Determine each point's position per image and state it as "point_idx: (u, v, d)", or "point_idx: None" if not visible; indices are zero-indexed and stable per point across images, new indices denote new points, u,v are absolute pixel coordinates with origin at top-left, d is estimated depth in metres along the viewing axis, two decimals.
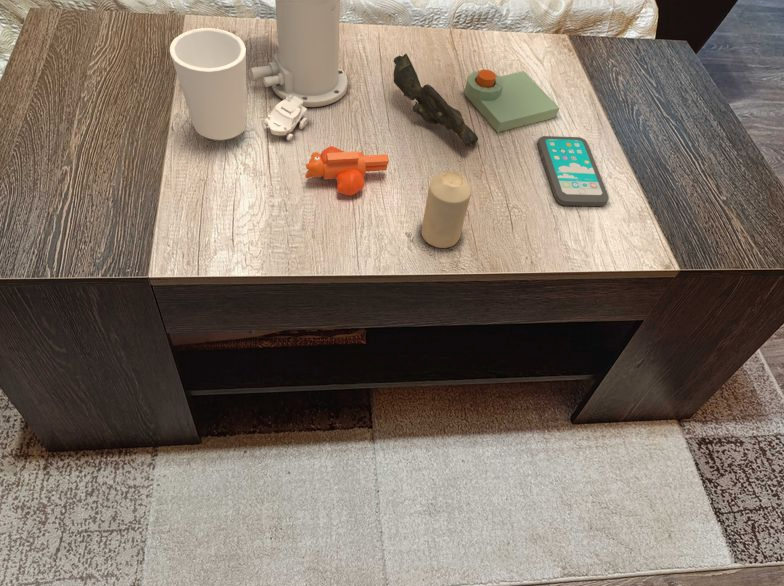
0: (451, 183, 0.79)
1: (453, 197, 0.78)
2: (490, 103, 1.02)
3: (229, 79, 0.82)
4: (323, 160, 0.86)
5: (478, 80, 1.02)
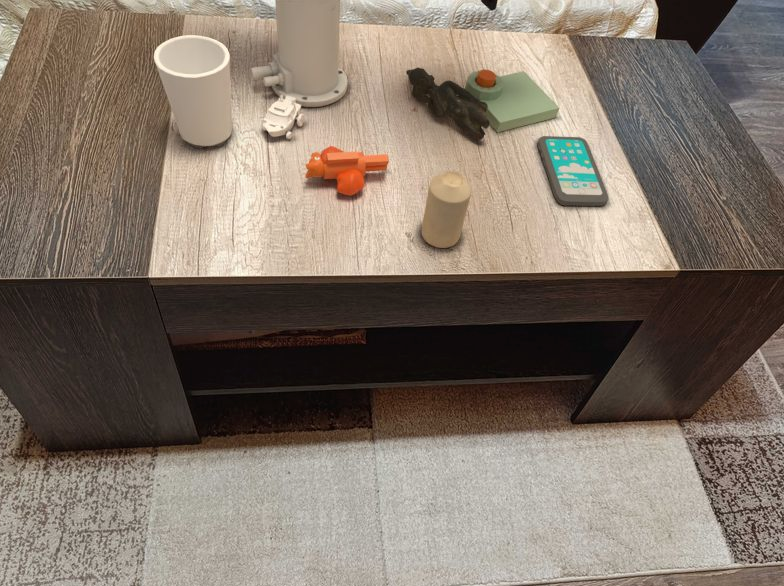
0: (451, 183, 0.79)
1: (453, 197, 0.78)
2: (490, 103, 1.02)
3: (215, 84, 0.83)
4: (323, 160, 0.86)
5: (478, 80, 1.02)
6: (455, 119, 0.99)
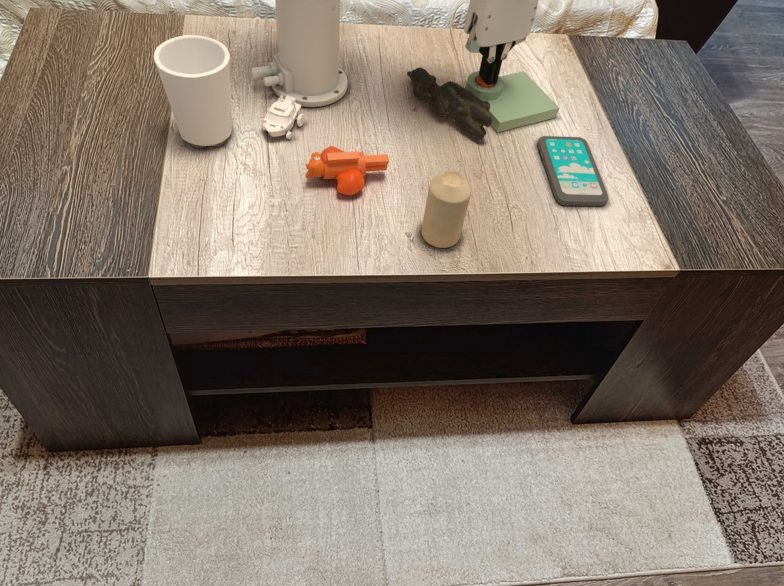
0: (451, 183, 0.79)
1: (453, 197, 0.78)
2: (490, 103, 1.02)
3: (215, 84, 0.83)
4: (324, 160, 0.86)
5: None
6: (456, 117, 0.99)
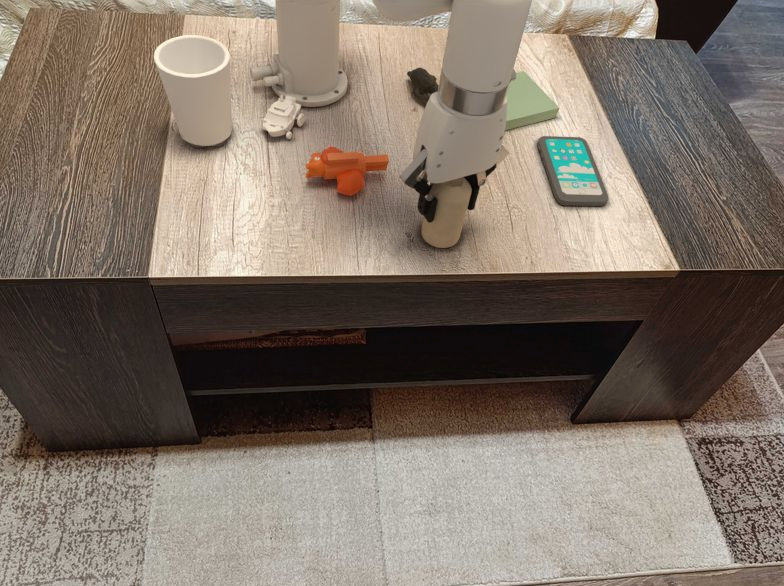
0: (451, 183, 0.79)
1: (453, 197, 0.78)
2: None
3: (215, 84, 0.83)
4: (324, 160, 0.86)
5: None
6: None
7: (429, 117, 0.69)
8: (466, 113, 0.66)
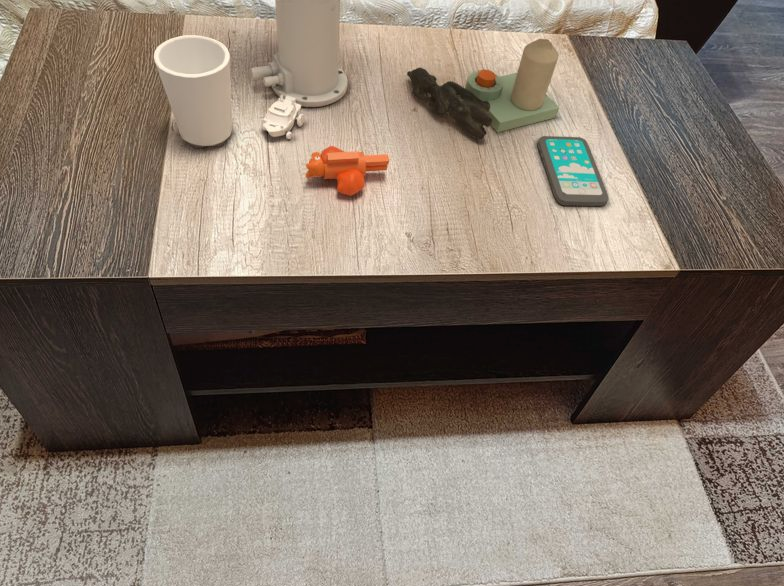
0: None
1: (545, 58, 0.95)
2: (490, 103, 1.02)
3: (215, 84, 0.83)
4: (324, 160, 0.86)
5: (478, 80, 1.02)
6: (456, 117, 0.99)
7: None
8: None
